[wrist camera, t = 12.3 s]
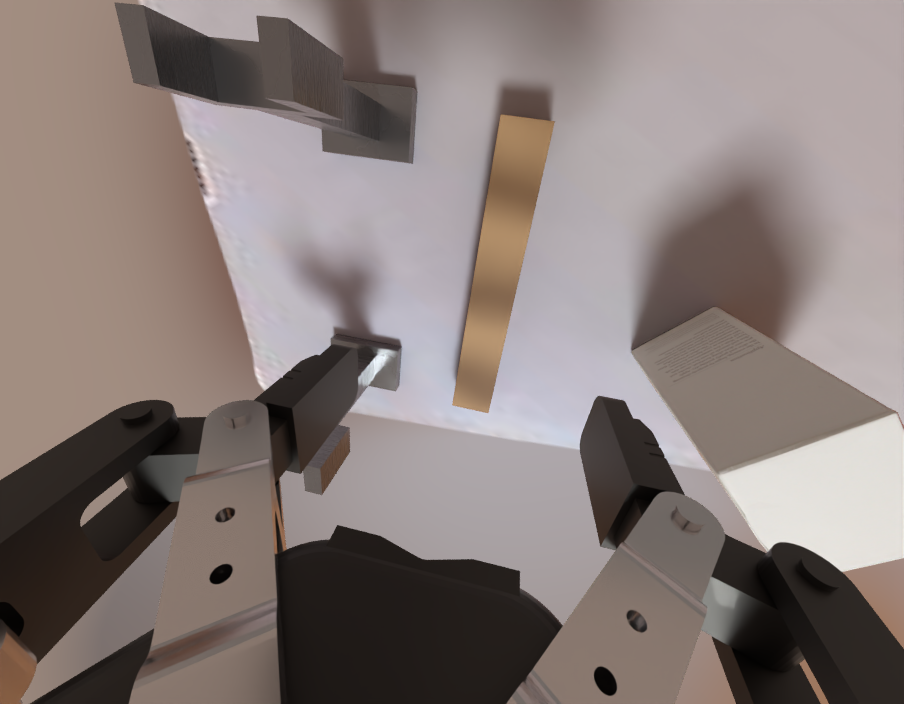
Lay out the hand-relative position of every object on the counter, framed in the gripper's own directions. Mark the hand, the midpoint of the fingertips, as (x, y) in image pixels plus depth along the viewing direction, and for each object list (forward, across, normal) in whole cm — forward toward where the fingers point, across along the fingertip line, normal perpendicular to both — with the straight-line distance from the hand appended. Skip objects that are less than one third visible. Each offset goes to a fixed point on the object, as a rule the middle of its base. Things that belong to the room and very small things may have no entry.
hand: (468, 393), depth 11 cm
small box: (+16, -16, +4) cm, 23 cm away
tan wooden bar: (+16, 0, 0) cm, 16 cm away
